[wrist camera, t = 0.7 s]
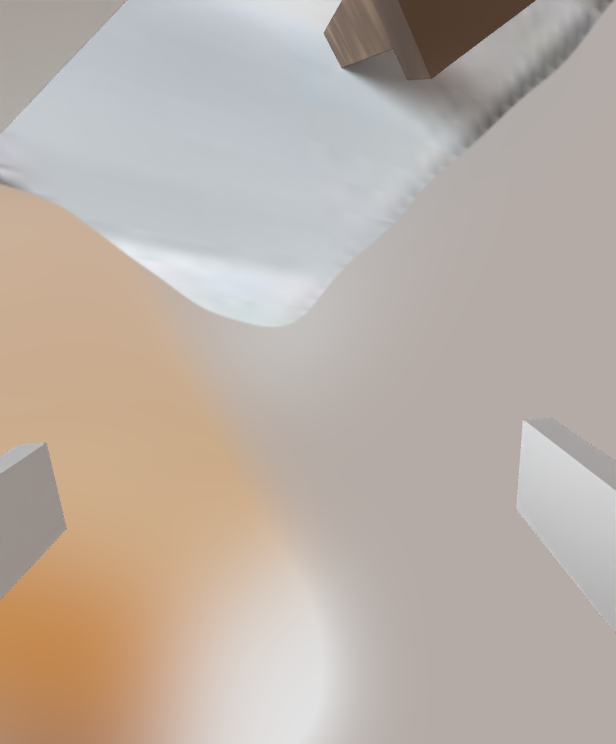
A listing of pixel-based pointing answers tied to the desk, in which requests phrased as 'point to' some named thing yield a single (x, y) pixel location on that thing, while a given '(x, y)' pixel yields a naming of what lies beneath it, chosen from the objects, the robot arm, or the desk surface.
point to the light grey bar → (42, 44)
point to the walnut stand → (416, 30)
